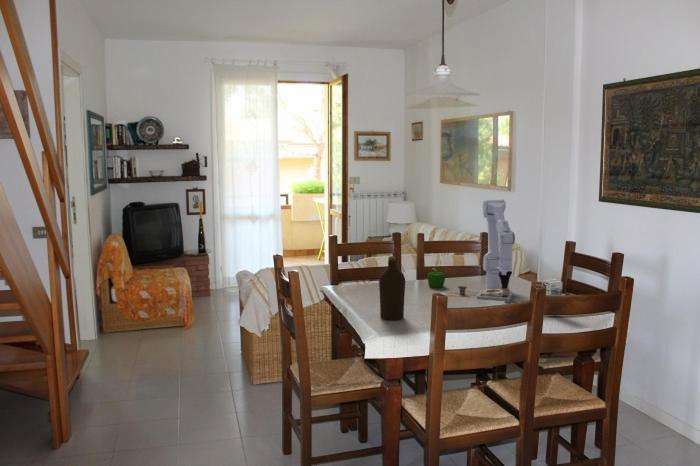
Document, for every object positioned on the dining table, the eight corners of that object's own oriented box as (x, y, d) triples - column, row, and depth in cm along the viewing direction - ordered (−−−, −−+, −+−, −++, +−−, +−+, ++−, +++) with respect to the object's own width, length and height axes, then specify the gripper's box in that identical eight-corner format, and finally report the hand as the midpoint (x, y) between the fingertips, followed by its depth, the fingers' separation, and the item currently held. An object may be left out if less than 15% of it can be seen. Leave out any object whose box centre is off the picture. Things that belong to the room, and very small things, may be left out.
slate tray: (480, 293, 294) (480, 289, 294) (512, 295, 289) (512, 291, 289) (476, 300, 280) (476, 296, 280) (509, 302, 276) (509, 298, 275)
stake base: (452, 292, 297) (452, 282, 296) (477, 294, 293) (477, 283, 292) (447, 298, 285) (447, 287, 285) (473, 299, 281) (474, 289, 281)
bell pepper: (447, 289, 303) (448, 269, 302) (433, 291, 300) (433, 270, 299) (439, 286, 311) (439, 266, 309) (424, 287, 308) (425, 267, 306)
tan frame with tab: (509, 292, 287) (508, 281, 286) (507, 297, 278) (506, 285, 278) (484, 293, 290) (483, 282, 290) (482, 297, 282) (481, 285, 282)
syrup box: (549, 317, 252) (550, 282, 250) (541, 313, 257) (542, 279, 255) (561, 316, 253) (563, 281, 251) (553, 312, 259) (554, 278, 257)
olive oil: (393, 322, 245) (394, 260, 241) (373, 317, 252) (373, 257, 249) (410, 317, 252) (410, 256, 249) (390, 312, 260) (390, 253, 256)
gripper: (498, 255, 289) (497, 283, 291) (494, 260, 275) (494, 290, 277) (514, 256, 287) (513, 285, 288) (511, 261, 273) (510, 291, 275)
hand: (504, 287), depth 283 cm, fingers closed on tan frame with tab, 2 cm apart
